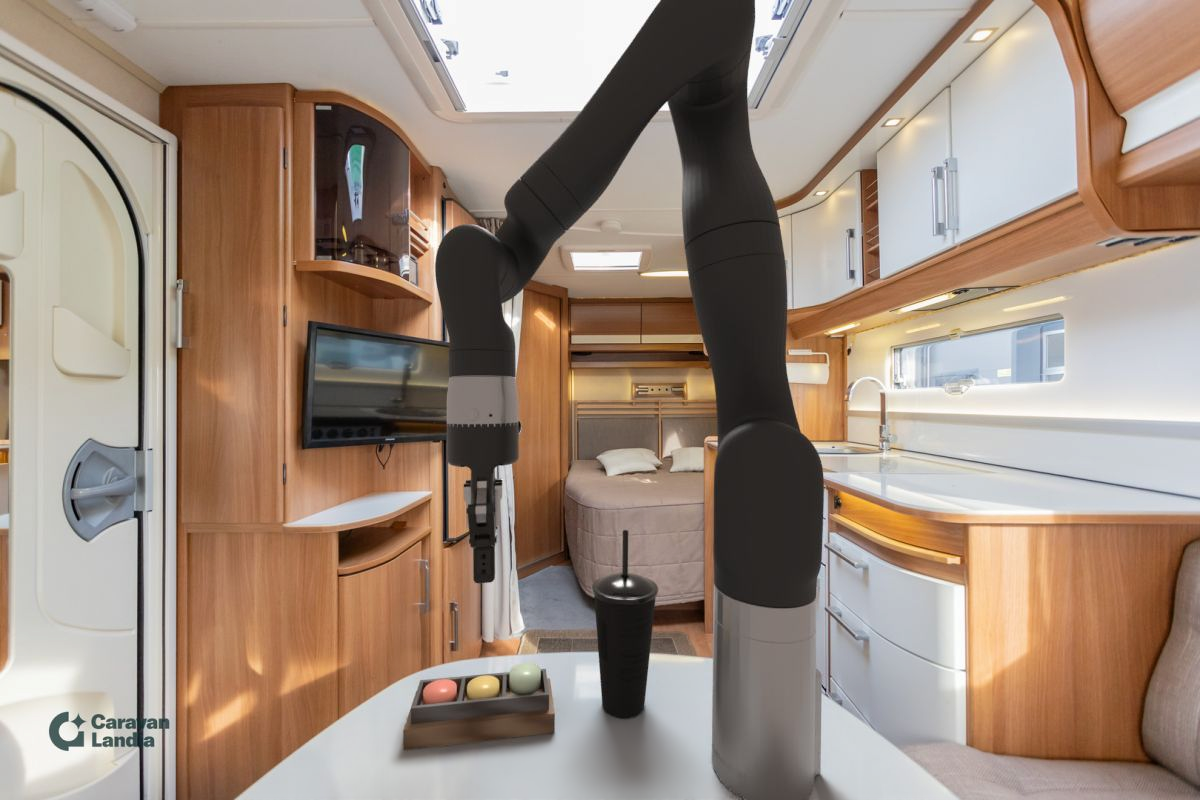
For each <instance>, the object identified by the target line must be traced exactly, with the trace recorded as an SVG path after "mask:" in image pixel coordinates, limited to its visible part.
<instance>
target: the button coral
mask: <svg viewBox="0 0 1200 800" xmlns="http://www.w3.org/2000/svg"><path fill="white" fill-rule="evenodd" d="M456 701H457V685H456V683H455V682H454V681H452V680H448V679H442V680H437V681H434V682H431V683H430V684H428V685H427V686H426V687H425V688H424V690H423V705H426V704H436V703H446V702H456Z"/></svg>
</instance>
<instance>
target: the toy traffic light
mask: <svg viewBox="0 0 1200 800" xmlns="http://www.w3.org/2000/svg"><path fill="white" fill-rule="evenodd" d="M540 669H541V686H540V688H539V690H538V691H536V692H535V693H533V694H526V695H517V694H514V693H512V692H511V691H510V688H509V684H510V671H507V672H506V671H504V672H496V673H484V674H475V675H474V674H472V675H464V676H462V675H460V676H453V677H452V676H451V677H450V676H449V677H442V678H441V677H440V678H439V677H438V678H430V679H429V678H428V679H420V680H419V683H418V686H417V688H416V689H417V690H416V691H415V694H414V697H413V701H412V703H411V706H410V709H409V713H408V714H407V718H406V722H405V724H404V728H403V730H402V731H403V739H402V740H403V741H402V742H403V745H402V749H403V751H407V750H415V749H416V750H417V749H424V748H425V749H426V748H433V747H442V746H452V745H459V744H468V743H476V742H484V741H485V742H486V741H493V740H501V739H502V740H503V739H511V738H520V737H528V736H537V735H538V736H539V735H547V734H554V733H555V726H556V725H555V724H556V723H555V722H556V721H555V720H556V718H555V717H556V712H555V705H554V698H553V692H552V691H553V690H552V683H551V678H550V677H548V674H547V668H540ZM486 675H487V676H493V677H496V678H497V679H498V680H499V697H496V698H486V699H476V700H467V685H468V683H469V682H470V681H471V680H472V679H474V678H476V677H479V676H486ZM442 679H448V680H452V681H454V682H455V683H456V685H457V701H456V702H446V703H436V704H426V705H423V690H424V688H425V687H426V686H427V685H428V684H430V683H431V682H434V681H437V680H442Z"/></svg>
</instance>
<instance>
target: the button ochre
mask: <svg viewBox="0 0 1200 800" xmlns="http://www.w3.org/2000/svg"><path fill="white" fill-rule="evenodd" d="M496 697H499V680H498V679H497V678H496V677H493V676H487V675H486V676H479V677H476V678H474V679H472V680H471V681H470V682H469V683H468V685H467V700H476V699H486V698H496Z"/></svg>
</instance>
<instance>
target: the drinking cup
mask: <svg viewBox="0 0 1200 800" xmlns="http://www.w3.org/2000/svg"><path fill="white" fill-rule="evenodd" d="M621 547H622V556H621V558H622V563H621V566H622V567H621V572H615V573H611V574H608V575H605V576H602V577H598V578H597V579H596V580H595V581H593V582H592V585H591V593H592V595H593V597H594V598H593V599H594V611H595V623H596V624H595V625H596V636H597V638H596V639H597V651H598V652H597V653H598V664H599V677H600V679H599V680H600V691H601V693H600V694H601V706H602V708H603V710H604V712H605V713H606V714H607V715H609V716H611V717H612V718H616V719H622V720H627V719H628V720H629V719H634V718H637V717H638V716H639V715H641V714H642V712H643V711H644V708H645V703H646V693H647V684H648V674H649V663H650V654H651V645H652V644H651V643H652V635H653V626H654V625H653V624H654V616H655V608H656V606H655V605H656V598H657V597H658V595H659V586H658V584H657V583H656V582H655V581H653V580H651V579H650V578H647V577H644V576H642V575H639V574H637V573H634V572H629V530H627V529H623V530H622V546H621Z"/></svg>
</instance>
